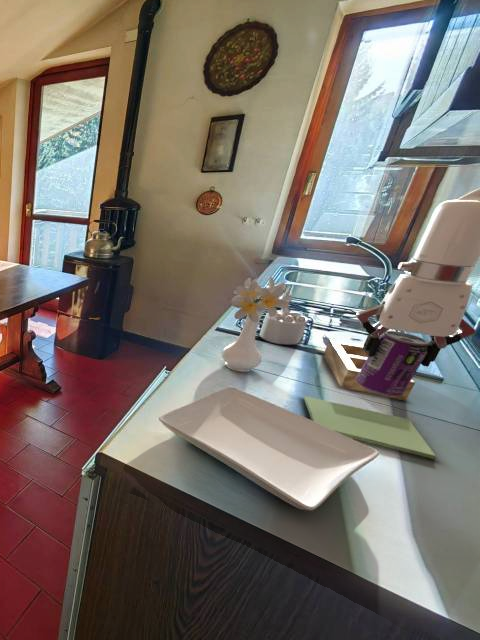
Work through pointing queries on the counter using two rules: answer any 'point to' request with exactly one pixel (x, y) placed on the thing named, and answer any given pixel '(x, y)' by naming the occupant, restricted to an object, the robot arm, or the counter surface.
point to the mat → (369, 426)
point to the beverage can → (393, 363)
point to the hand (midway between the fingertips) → (394, 358)
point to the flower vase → (253, 320)
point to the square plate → (270, 445)
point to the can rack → (351, 366)
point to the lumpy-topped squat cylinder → (284, 327)
